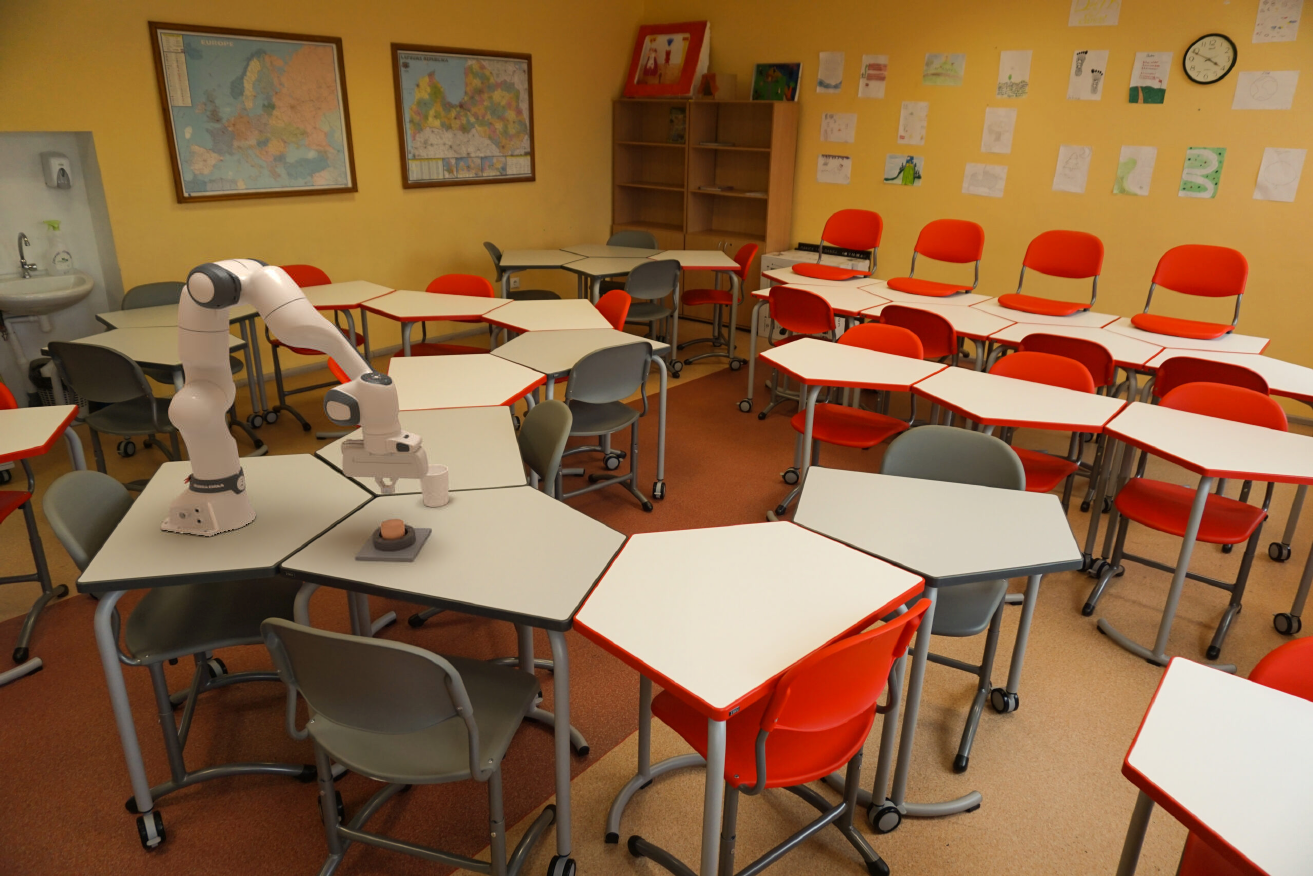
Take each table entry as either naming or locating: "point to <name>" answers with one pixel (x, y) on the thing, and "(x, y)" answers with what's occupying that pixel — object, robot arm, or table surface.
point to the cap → (392, 529)
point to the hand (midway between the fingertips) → (388, 492)
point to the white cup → (435, 486)
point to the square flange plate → (394, 546)
